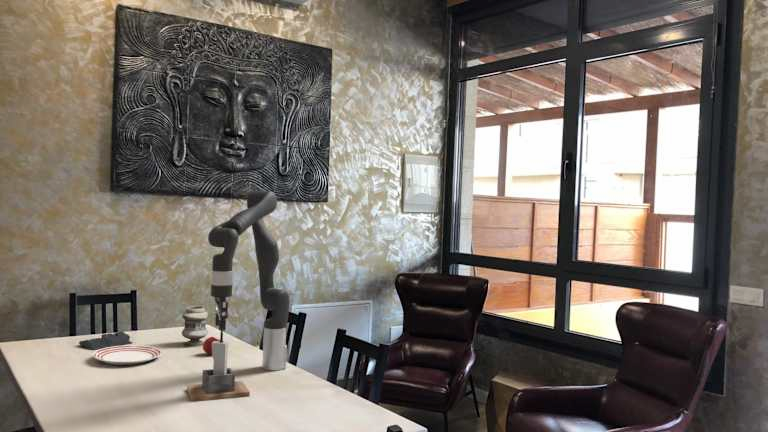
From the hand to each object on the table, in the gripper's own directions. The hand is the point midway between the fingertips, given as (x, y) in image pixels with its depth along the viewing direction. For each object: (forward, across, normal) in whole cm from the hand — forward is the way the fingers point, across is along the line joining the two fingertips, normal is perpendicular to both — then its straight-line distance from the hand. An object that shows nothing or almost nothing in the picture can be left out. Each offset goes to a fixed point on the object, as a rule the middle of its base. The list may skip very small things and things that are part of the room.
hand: (220, 327), depth 218 cm
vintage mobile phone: (+22, 0, 0) cm, 22 cm away
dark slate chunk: (+24, +88, +38) cm, 99 cm away
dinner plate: (+24, +57, +29) cm, 68 cm away
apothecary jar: (+24, +78, -1) cm, 82 cm away
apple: (+24, +56, -6) cm, 61 cm away
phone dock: (+24, 0, 0) cm, 24 cm away
